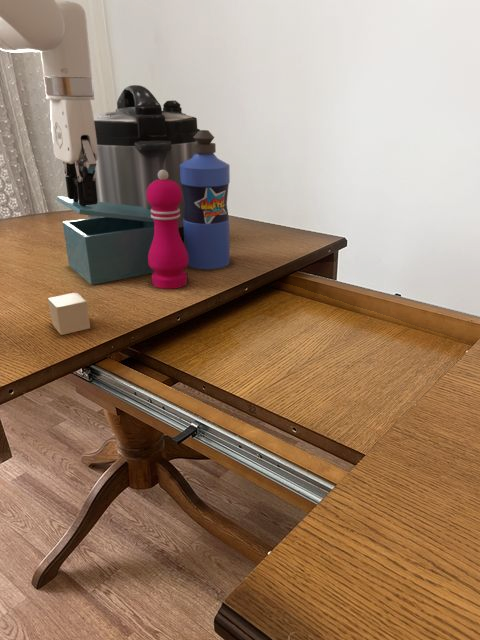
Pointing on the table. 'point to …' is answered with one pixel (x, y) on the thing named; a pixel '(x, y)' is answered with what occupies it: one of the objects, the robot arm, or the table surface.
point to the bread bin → (108, 248)
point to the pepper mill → (166, 234)
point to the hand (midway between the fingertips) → (82, 200)
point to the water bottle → (206, 205)
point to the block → (69, 313)
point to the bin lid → (106, 208)
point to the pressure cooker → (141, 148)
